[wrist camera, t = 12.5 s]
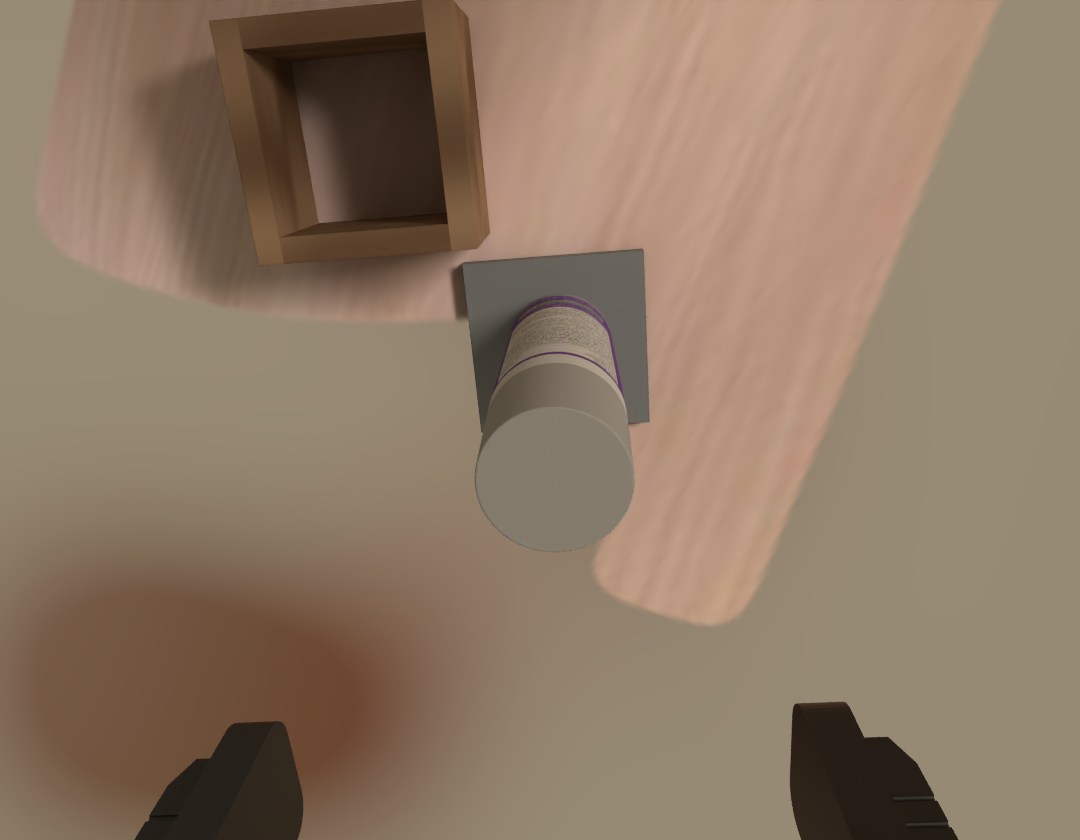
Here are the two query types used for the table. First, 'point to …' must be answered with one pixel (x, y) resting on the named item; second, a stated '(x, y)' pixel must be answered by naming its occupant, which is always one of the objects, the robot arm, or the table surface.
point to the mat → (591, 276)
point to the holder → (277, 139)
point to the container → (556, 431)
